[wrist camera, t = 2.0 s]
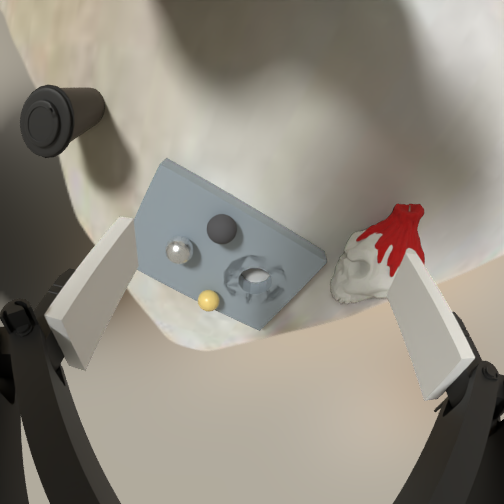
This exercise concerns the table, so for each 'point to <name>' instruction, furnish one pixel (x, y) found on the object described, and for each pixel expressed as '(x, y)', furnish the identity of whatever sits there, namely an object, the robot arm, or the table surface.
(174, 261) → the steel ball
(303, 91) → the table surface
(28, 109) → the coffee cup
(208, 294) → the mustard ball
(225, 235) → the black ball
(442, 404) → the robot arm
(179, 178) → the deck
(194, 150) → the table surface
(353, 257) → the candle
